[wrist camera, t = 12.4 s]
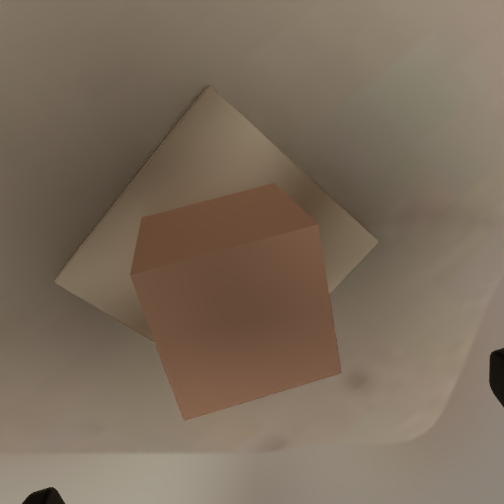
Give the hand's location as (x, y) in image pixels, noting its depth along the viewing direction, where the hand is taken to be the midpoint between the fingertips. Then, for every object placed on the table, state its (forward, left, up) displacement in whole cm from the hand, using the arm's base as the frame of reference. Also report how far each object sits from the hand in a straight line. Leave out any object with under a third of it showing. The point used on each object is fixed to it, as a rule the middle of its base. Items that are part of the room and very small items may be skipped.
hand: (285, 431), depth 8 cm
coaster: (0, 0, -10) cm, 10 cm away
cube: (0, 0, -9) cm, 9 cm away
